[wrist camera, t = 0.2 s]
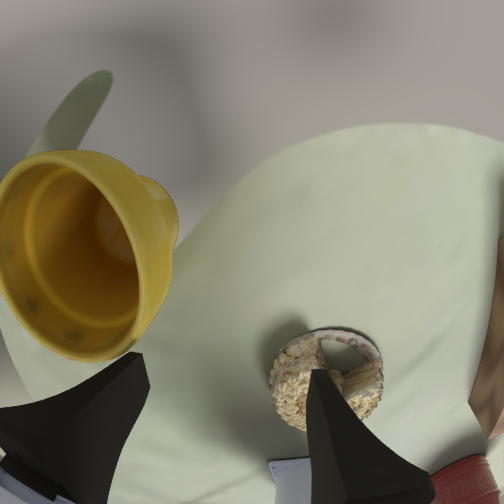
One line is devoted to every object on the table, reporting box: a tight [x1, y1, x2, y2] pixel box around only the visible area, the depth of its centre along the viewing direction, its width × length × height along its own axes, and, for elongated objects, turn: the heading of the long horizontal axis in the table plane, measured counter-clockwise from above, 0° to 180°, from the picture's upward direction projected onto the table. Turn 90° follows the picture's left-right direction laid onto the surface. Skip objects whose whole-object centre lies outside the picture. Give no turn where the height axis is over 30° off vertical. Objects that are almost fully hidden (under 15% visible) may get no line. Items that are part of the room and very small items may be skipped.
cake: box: [269, 329, 384, 432], centre depth 21 cm, size 10×10×5 cm
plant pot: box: [0, 150, 179, 363], centre depth 16 cm, size 10×10×10 cm
